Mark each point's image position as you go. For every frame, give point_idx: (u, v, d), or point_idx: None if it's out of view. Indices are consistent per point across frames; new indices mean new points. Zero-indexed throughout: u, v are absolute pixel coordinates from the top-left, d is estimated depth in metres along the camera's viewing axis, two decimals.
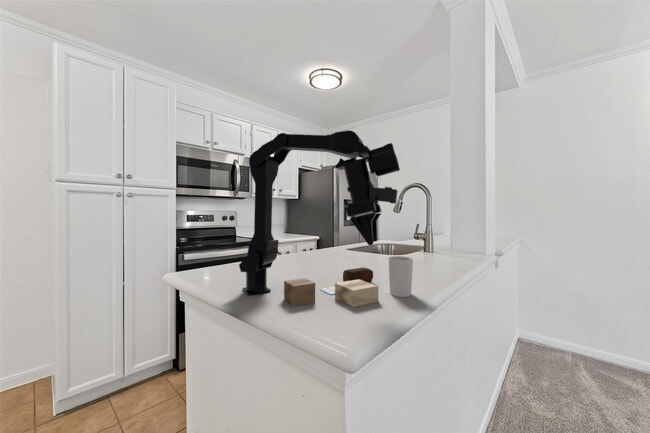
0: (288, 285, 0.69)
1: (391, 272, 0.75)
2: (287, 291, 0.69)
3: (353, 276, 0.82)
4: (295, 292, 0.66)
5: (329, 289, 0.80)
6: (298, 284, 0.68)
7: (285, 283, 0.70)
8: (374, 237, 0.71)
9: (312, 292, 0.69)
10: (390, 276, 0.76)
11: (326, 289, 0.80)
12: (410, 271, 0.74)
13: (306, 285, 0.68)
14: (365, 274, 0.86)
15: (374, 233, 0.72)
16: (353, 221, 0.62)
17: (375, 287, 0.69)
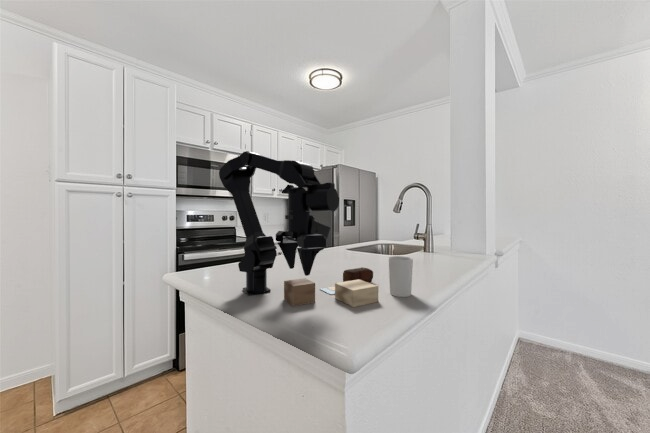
0: (288, 285, 0.69)
1: (391, 272, 0.75)
2: (287, 291, 0.69)
3: (353, 276, 0.82)
4: (295, 292, 0.66)
5: (329, 289, 0.80)
6: (298, 284, 0.68)
7: (285, 283, 0.70)
8: (292, 264, 0.74)
9: (312, 292, 0.69)
10: (390, 276, 0.76)
11: (326, 289, 0.80)
12: (410, 271, 0.74)
13: (306, 285, 0.68)
14: (365, 274, 0.86)
15: (293, 260, 0.74)
16: (302, 252, 0.63)
17: (375, 287, 0.69)
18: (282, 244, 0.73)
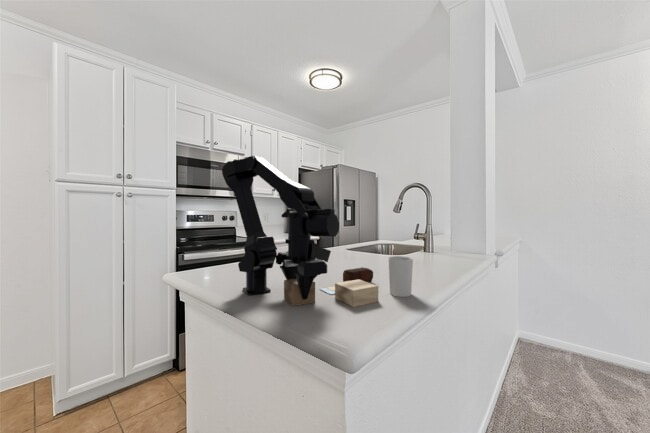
0: (288, 285, 0.69)
1: (391, 272, 0.75)
2: (287, 291, 0.69)
3: (353, 276, 0.82)
4: (295, 291, 0.66)
5: (329, 289, 0.80)
6: None
7: (285, 282, 0.70)
8: None
9: (312, 291, 0.69)
10: (390, 276, 0.76)
11: (326, 289, 0.80)
12: (410, 271, 0.74)
13: None
14: (365, 274, 0.86)
15: None
16: (300, 277, 0.64)
17: (375, 287, 0.69)
18: (284, 268, 0.72)
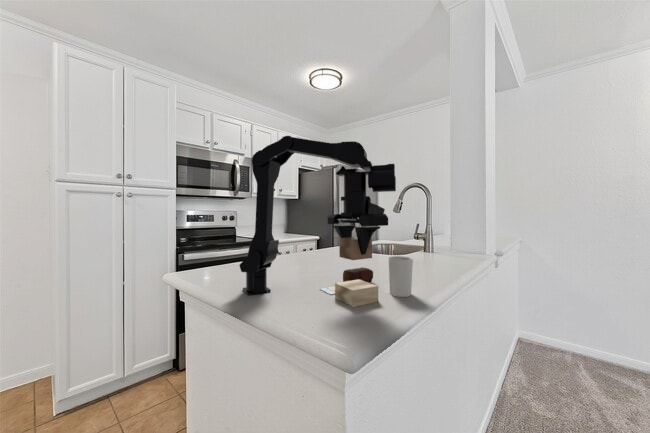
0: (345, 241, 0.69)
1: (391, 272, 0.75)
2: (345, 247, 0.69)
3: (353, 276, 0.82)
4: (354, 245, 0.67)
5: (329, 289, 0.80)
6: (356, 239, 0.68)
7: (341, 240, 0.71)
8: None
9: (369, 247, 0.69)
10: (390, 276, 0.76)
11: (326, 289, 0.80)
12: (410, 271, 0.74)
13: None
14: (365, 274, 0.86)
15: None
16: (360, 230, 0.65)
17: (375, 287, 0.69)
18: (339, 227, 0.72)
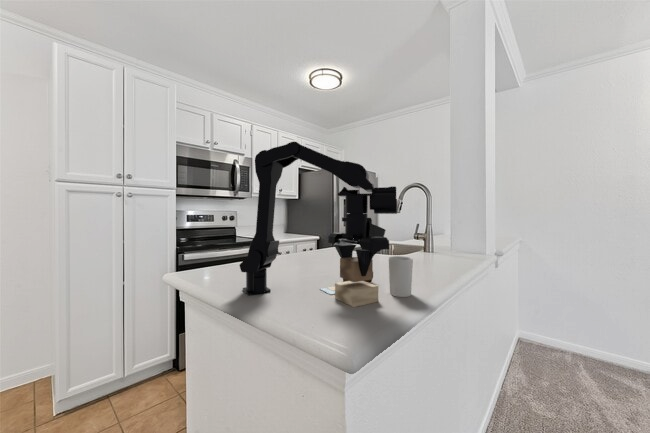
0: (346, 262, 0.69)
1: (391, 272, 0.75)
2: (345, 268, 0.70)
3: None
4: (355, 267, 0.67)
5: (329, 289, 0.80)
6: (357, 260, 0.68)
7: (342, 260, 0.71)
8: None
9: (370, 269, 0.69)
10: (390, 276, 0.76)
11: (326, 289, 0.80)
12: (410, 271, 0.74)
13: None
14: None
15: None
16: (361, 253, 0.65)
17: (375, 287, 0.69)
18: (340, 247, 0.73)
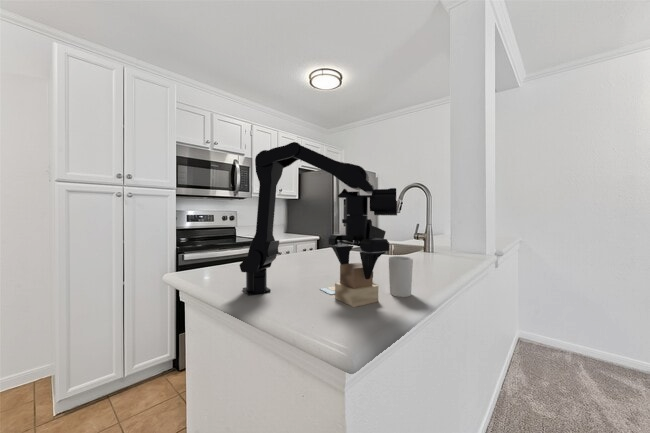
0: (346, 268, 0.69)
1: (391, 272, 0.75)
2: (345, 274, 0.70)
3: None
4: (355, 274, 0.67)
5: (329, 289, 0.80)
6: (357, 267, 0.68)
7: (342, 267, 0.71)
8: None
9: None
10: (390, 276, 0.76)
11: (326, 289, 0.80)
12: (410, 271, 0.74)
13: None
14: None
15: None
16: (365, 256, 0.64)
17: (375, 287, 0.69)
18: (337, 248, 0.74)
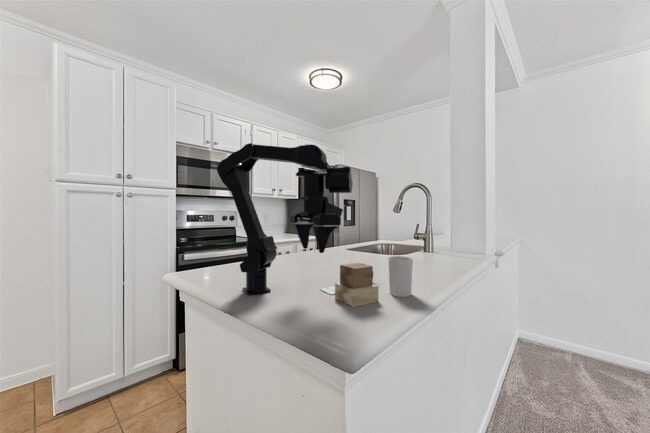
0: (346, 268, 0.69)
1: (391, 272, 0.75)
2: (345, 274, 0.70)
3: None
4: (355, 274, 0.67)
5: (329, 289, 0.80)
6: (357, 267, 0.68)
7: (342, 267, 0.71)
8: (306, 244, 0.78)
9: (370, 275, 0.69)
10: (390, 276, 0.76)
11: (326, 289, 0.80)
12: (410, 271, 0.74)
13: (365, 268, 0.68)
14: None
15: (306, 241, 0.78)
16: (317, 229, 0.67)
17: (375, 287, 0.69)
18: (297, 225, 0.77)
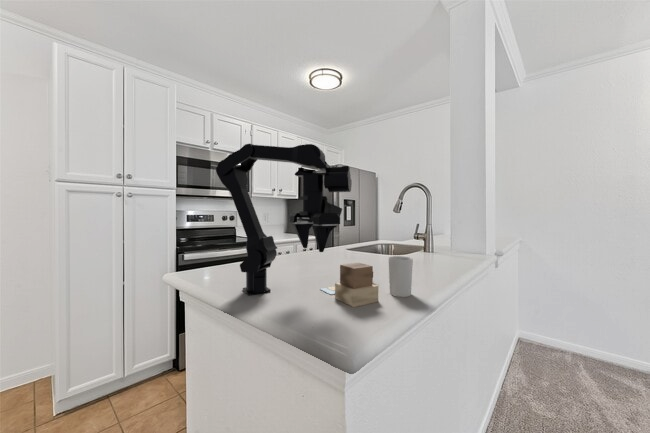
0: (346, 268, 0.69)
1: (391, 272, 0.75)
2: (345, 274, 0.70)
3: None
4: (355, 274, 0.67)
5: (329, 289, 0.80)
6: (357, 267, 0.68)
7: (342, 267, 0.71)
8: (305, 244, 0.78)
9: (370, 275, 0.69)
10: (390, 276, 0.76)
11: (326, 289, 0.80)
12: (410, 271, 0.74)
13: (365, 268, 0.68)
14: None
15: (306, 240, 0.78)
16: (317, 229, 0.67)
17: (375, 287, 0.69)
18: (296, 225, 0.77)
